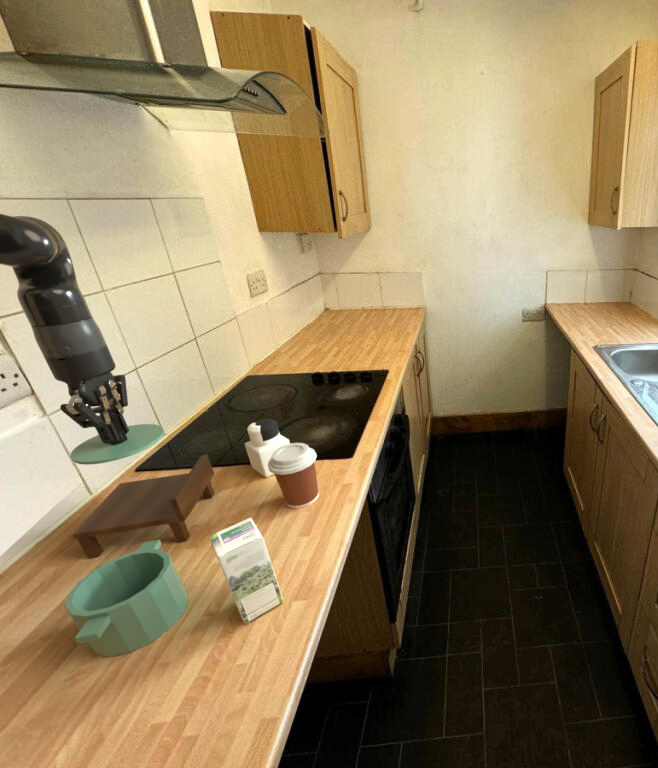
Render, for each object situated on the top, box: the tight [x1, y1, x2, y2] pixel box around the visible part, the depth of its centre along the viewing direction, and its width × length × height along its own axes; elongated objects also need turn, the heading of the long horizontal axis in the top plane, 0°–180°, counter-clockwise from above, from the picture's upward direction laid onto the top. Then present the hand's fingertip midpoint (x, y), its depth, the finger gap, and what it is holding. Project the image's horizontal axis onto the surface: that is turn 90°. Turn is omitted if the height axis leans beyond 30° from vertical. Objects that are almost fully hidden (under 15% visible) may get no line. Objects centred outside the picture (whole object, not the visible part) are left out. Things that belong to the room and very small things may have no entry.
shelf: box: [71, 453, 215, 560], centre depth 82 cm, size 17×15×10 cm
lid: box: [70, 412, 165, 465], centre depth 74 cm, size 13×13×7 cm
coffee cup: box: [267, 442, 320, 509], centre depth 88 cm, size 9×9×12 cm
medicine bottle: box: [244, 418, 291, 478], centre depth 99 cm, size 7×7×12 cm
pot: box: [64, 539, 189, 657], centre depth 63 cm, size 12×17×8 cm
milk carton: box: [208, 517, 284, 625], centre depth 64 cm, size 6×6×14 cm
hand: (117, 437), depth 75 cm, fingers closed on lid, 2 cm apart
